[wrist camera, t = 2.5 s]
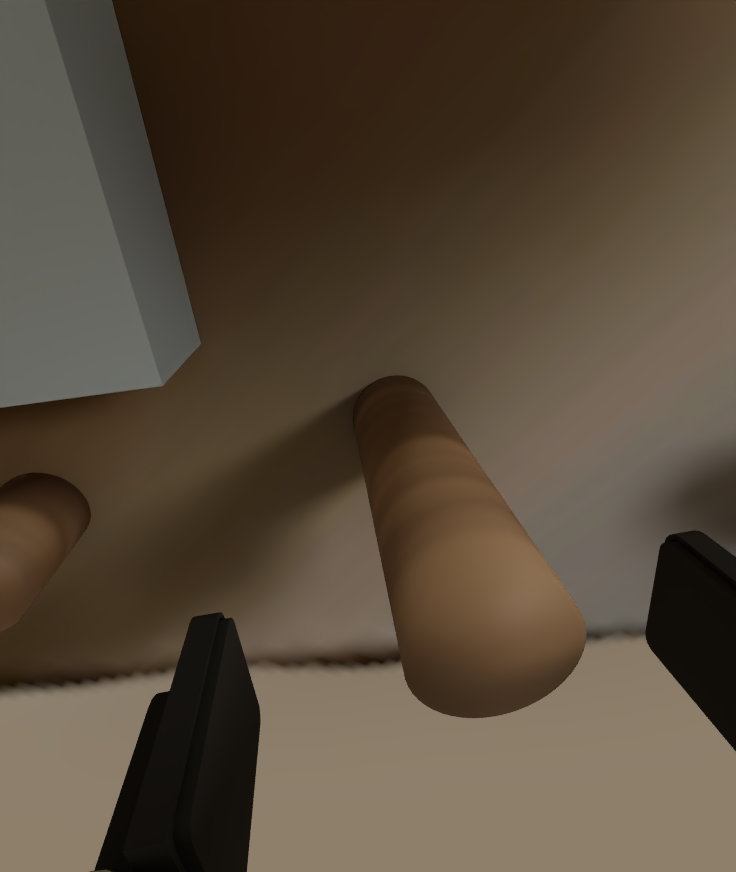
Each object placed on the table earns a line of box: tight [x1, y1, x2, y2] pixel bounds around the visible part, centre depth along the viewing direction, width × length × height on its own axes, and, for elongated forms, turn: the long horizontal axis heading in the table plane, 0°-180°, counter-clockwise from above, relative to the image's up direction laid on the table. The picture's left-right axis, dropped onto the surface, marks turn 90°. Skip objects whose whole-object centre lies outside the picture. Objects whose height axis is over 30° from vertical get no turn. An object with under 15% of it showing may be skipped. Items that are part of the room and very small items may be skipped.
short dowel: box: [0, 473, 91, 632], centre depth 18 cm, size 4×4×5 cm
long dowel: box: [353, 376, 586, 718], centre depth 14 cm, size 4×4×12 cm
